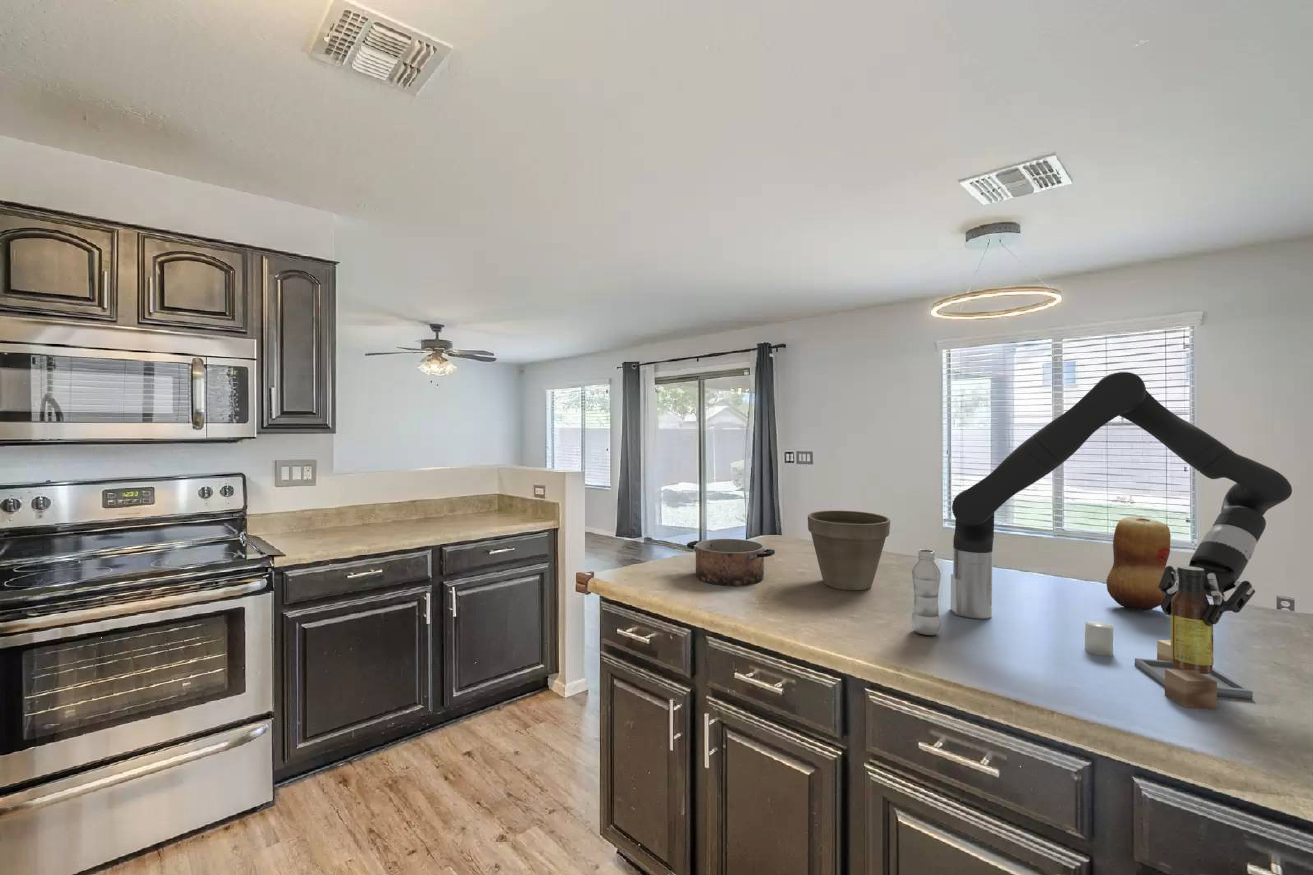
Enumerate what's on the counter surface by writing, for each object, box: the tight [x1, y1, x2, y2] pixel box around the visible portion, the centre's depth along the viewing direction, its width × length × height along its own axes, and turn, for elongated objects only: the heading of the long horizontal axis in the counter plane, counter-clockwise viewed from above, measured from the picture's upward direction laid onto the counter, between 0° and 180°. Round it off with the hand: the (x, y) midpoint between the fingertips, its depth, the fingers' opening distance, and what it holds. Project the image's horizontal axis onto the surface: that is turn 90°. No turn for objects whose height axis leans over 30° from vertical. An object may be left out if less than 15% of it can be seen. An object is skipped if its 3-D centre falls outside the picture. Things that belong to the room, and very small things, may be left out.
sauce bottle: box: [1169, 565, 1214, 674], centre depth 115 cm, size 7×6×20 cm
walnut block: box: [1164, 669, 1218, 710], centre depth 107 cm, size 5×5×5 cm
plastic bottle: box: [910, 549, 942, 636], centre depth 142 cm, size 6×7×20 cm
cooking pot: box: [686, 538, 776, 587], centre depth 194 cm, size 30×22×11 cm
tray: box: [1134, 657, 1254, 700], centre depth 115 cm, size 13×13×2 cm
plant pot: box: [807, 510, 891, 591], centre depth 185 cm, size 25×25×22 cm
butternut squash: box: [1105, 516, 1172, 612], centre depth 160 cm, size 14×13×25 cm
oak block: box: [1156, 639, 1172, 661], centre depth 124 cm, size 6×4×4 cm, turn 94°
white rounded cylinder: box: [1084, 620, 1114, 657], centre depth 130 cm, size 5×5×6 cm
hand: (1185, 617), depth 115 cm, fingers closed on sauce bottle, 6 cm apart
